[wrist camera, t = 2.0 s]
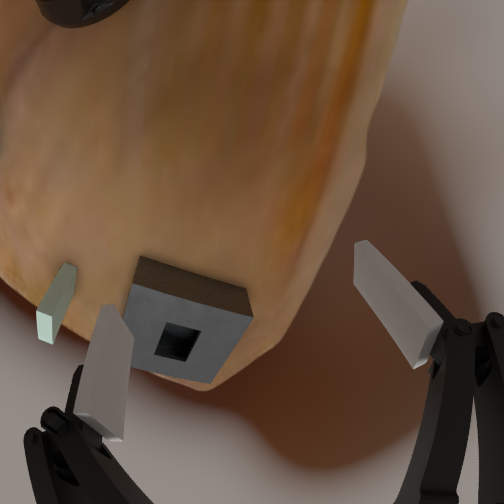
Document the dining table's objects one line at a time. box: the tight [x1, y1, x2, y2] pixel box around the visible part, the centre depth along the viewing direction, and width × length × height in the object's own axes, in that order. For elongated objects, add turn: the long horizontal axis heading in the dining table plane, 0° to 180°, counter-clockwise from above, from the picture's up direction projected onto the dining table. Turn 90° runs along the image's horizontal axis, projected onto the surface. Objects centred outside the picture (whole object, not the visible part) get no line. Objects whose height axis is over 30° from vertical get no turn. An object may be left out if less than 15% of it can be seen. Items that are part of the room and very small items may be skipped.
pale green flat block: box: [36, 262, 77, 344], centre depth 35 cm, size 2×6×12 cm, turn 153°
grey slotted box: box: [123, 256, 254, 384], centre depth 45 cm, size 18×18×7 cm
